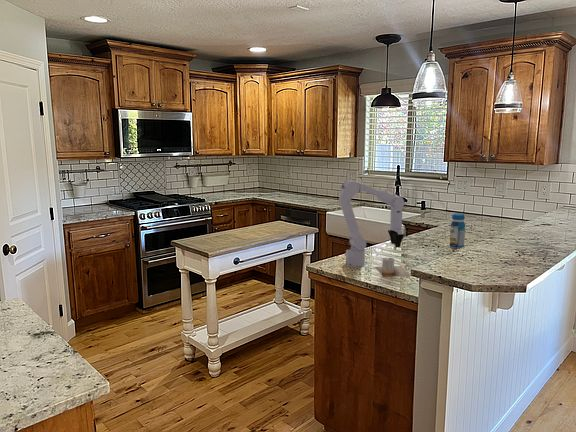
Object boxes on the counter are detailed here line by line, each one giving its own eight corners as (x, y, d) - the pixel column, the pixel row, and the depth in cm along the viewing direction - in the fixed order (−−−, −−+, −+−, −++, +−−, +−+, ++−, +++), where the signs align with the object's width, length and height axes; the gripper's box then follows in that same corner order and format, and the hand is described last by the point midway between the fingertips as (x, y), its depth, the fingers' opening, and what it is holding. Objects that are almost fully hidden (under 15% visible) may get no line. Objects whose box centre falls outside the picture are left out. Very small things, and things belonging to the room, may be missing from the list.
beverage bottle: (464, 249, 259) (466, 215, 256) (449, 248, 262) (450, 215, 259) (464, 246, 267) (465, 213, 264) (449, 245, 270) (450, 212, 267)
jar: (383, 274, 209) (383, 264, 208) (380, 271, 214) (381, 262, 213) (394, 274, 209) (395, 264, 208) (391, 271, 214) (391, 261, 214)
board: (383, 279, 206) (383, 276, 206) (374, 269, 223) (374, 266, 223) (411, 278, 207) (411, 275, 207) (400, 268, 224) (400, 265, 223)
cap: (381, 267, 214) (381, 257, 213) (392, 267, 214) (392, 257, 213) (383, 270, 209) (384, 260, 208) (394, 270, 209) (394, 260, 208)
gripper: (408, 221, 220) (407, 248, 222) (399, 216, 234) (399, 242, 237) (394, 222, 220) (393, 249, 222) (386, 217, 234) (386, 242, 236)
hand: (395, 245), depth 229 cm, fingers open, 7 cm apart
